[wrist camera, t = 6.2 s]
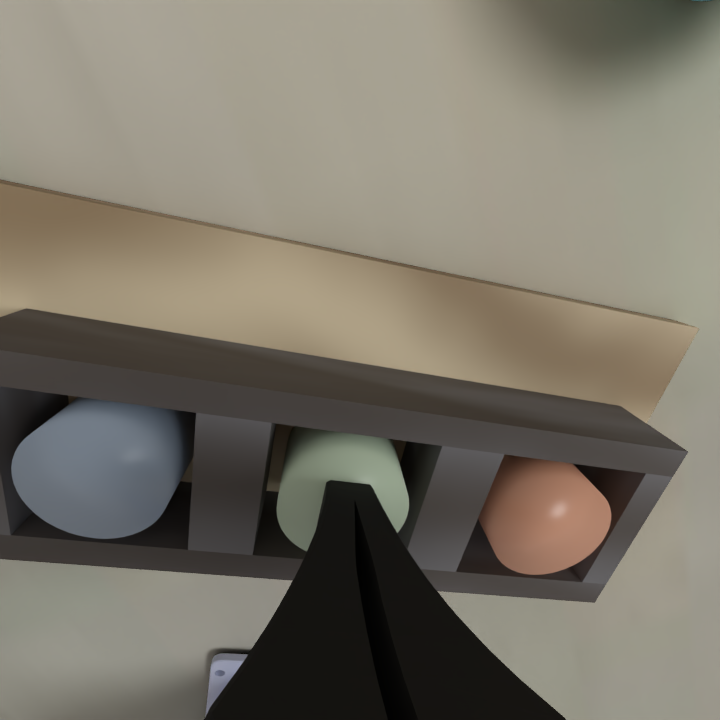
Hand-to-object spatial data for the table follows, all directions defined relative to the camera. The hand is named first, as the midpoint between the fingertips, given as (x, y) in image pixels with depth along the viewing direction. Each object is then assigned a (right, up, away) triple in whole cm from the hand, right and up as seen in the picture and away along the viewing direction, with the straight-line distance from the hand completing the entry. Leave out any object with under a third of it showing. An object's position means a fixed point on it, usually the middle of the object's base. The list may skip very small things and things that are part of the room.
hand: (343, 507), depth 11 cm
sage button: (0, +1, +3) cm, 3 cm away
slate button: (-7, +2, +2) cm, 8 cm away
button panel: (0, +2, +4) cm, 4 cm away
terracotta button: (+7, 0, +4) cm, 8 cm away
